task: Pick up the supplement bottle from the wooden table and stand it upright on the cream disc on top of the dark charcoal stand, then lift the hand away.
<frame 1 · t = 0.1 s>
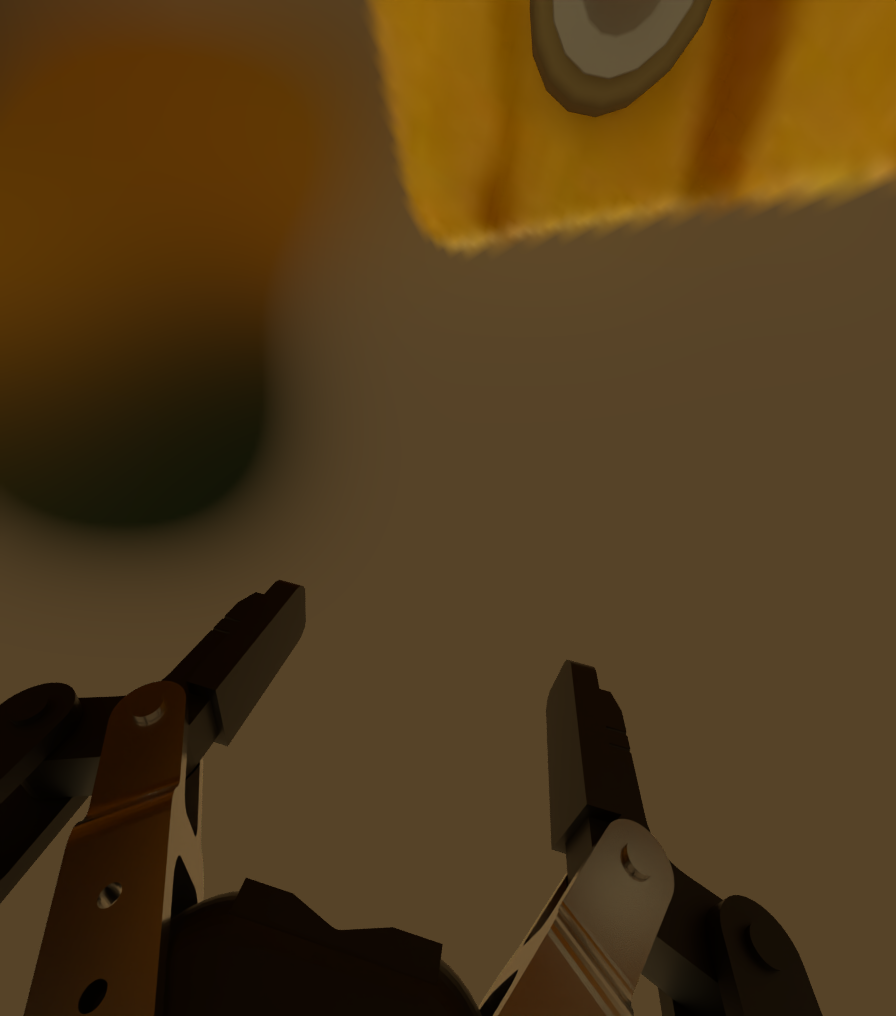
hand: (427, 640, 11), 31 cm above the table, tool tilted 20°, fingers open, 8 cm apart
squeeze bottle: (611, 4, 21), on the table
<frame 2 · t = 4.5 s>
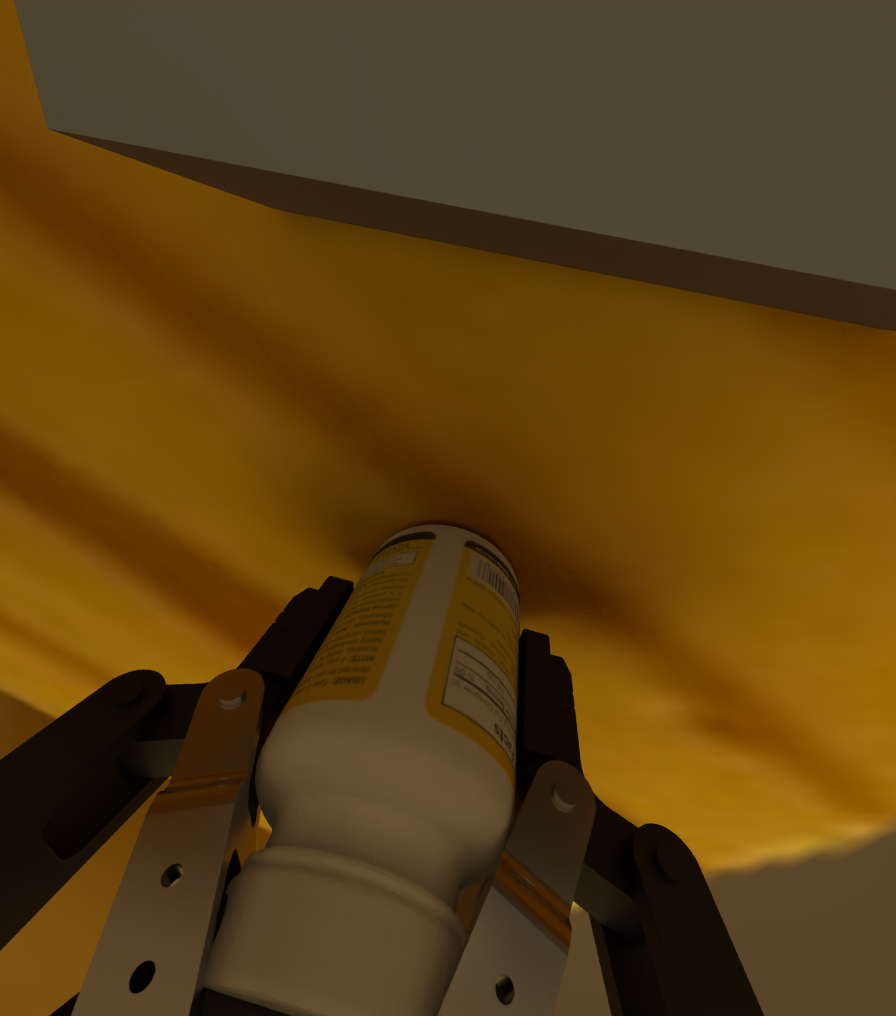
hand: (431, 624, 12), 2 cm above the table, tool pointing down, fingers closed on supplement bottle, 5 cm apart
squeeze bottle: (459, 826, 23), on the table
supplement bottle: (446, 580, 14), on the table, touching gripper
when the fingers open (8 cm above the table, at t = 10.4 s): supplement bottle drops 1 cm, resting on charcoal stand.
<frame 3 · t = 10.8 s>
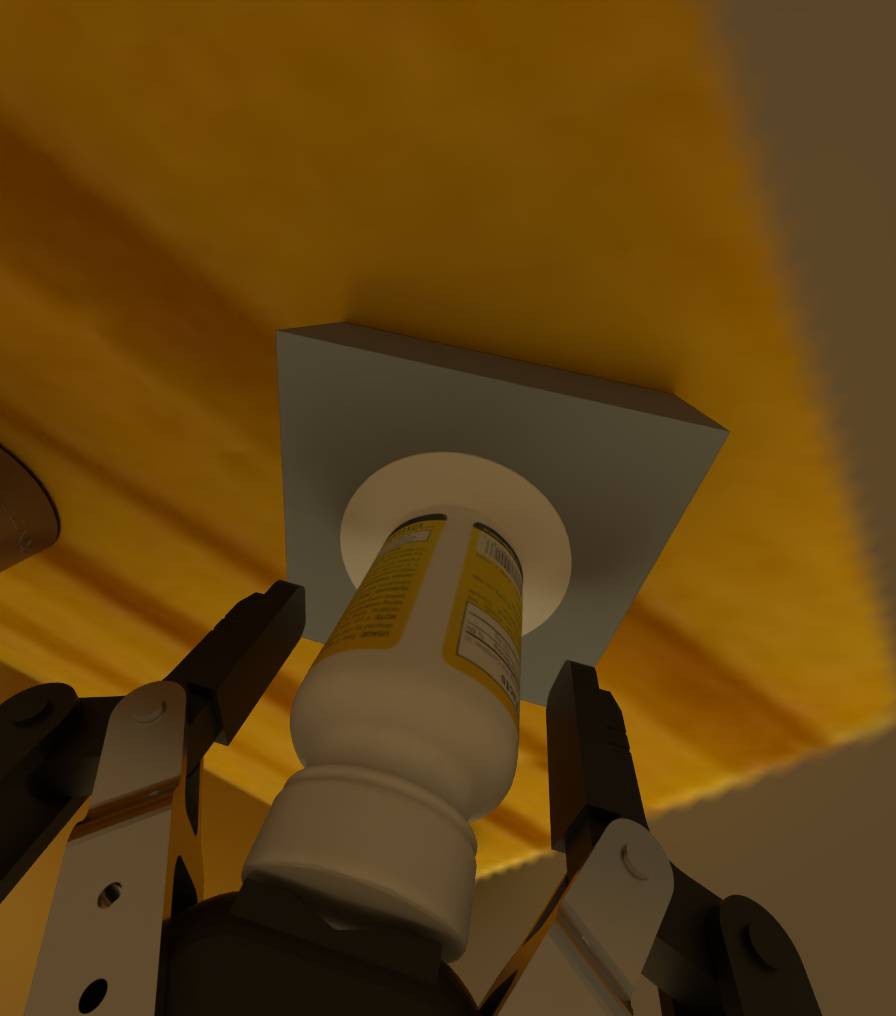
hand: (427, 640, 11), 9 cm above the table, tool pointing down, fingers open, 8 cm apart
supplement bottle: (454, 562, 15), point 5 cm above the table, touching charcoal stand
charcoal stand: (468, 501, 19), on the table
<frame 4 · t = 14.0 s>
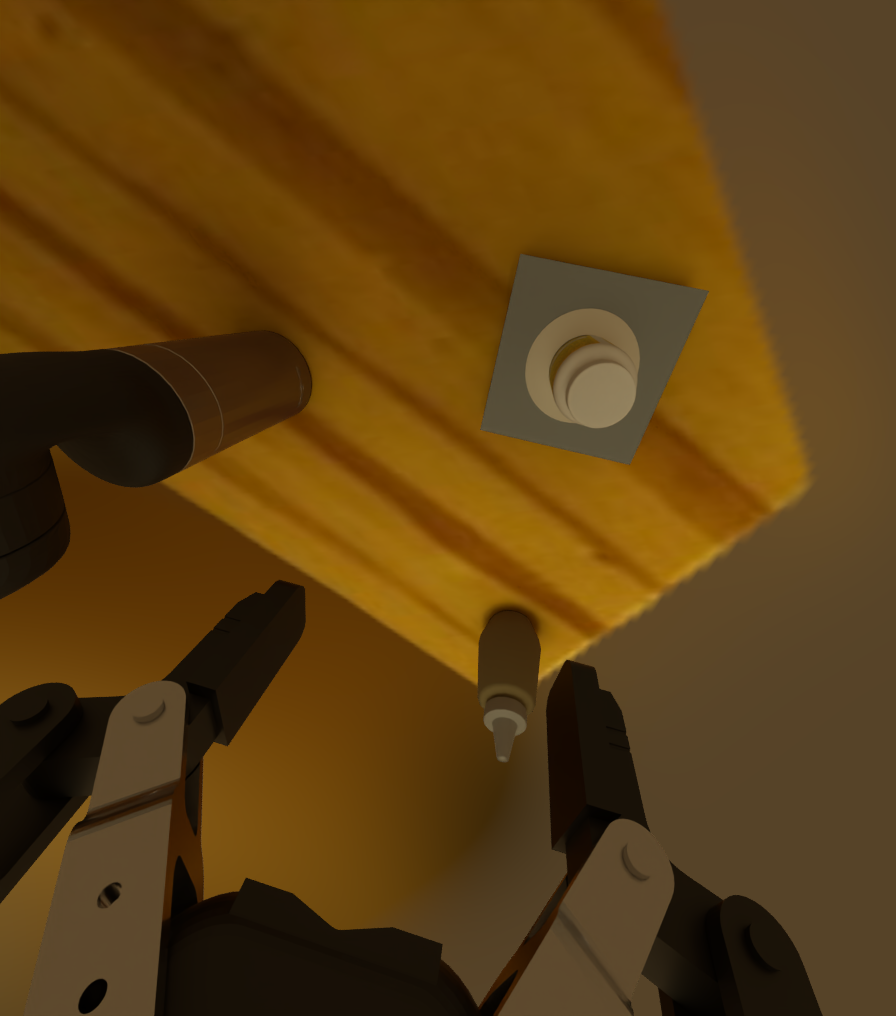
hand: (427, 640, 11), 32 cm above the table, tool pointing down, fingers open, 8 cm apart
squeeze bottle: (510, 624, 54), on the table
supplement bottle: (581, 369, 32), point 5 cm above the table, touching charcoal stand
charcoal stand: (574, 360, 36), on the table
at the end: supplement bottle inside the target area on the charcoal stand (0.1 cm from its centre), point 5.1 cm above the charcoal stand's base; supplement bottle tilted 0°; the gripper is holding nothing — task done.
